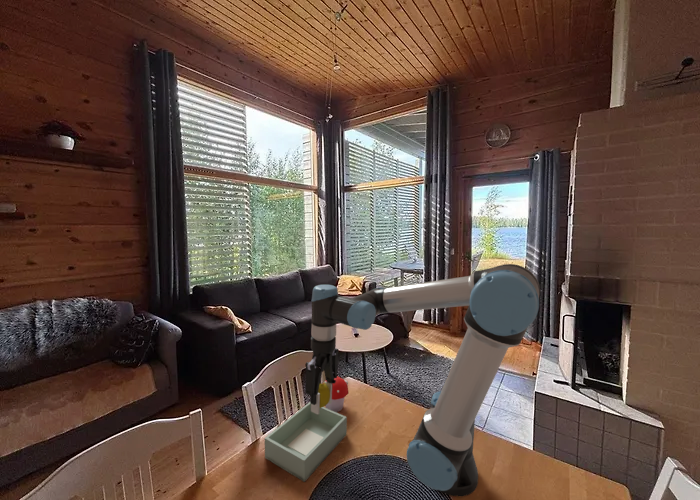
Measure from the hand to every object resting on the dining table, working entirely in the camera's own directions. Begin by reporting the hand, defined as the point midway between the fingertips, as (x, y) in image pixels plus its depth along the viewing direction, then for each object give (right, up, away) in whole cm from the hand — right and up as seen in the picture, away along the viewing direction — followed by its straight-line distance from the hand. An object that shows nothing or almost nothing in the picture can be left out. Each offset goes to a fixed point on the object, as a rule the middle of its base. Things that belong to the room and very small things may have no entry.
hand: (321, 406), depth 95 cm
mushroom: (+3, -12, +22) cm, 25 cm away
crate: (-5, -14, +2) cm, 15 cm away
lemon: (0, 0, 0) cm, 1 cm away
